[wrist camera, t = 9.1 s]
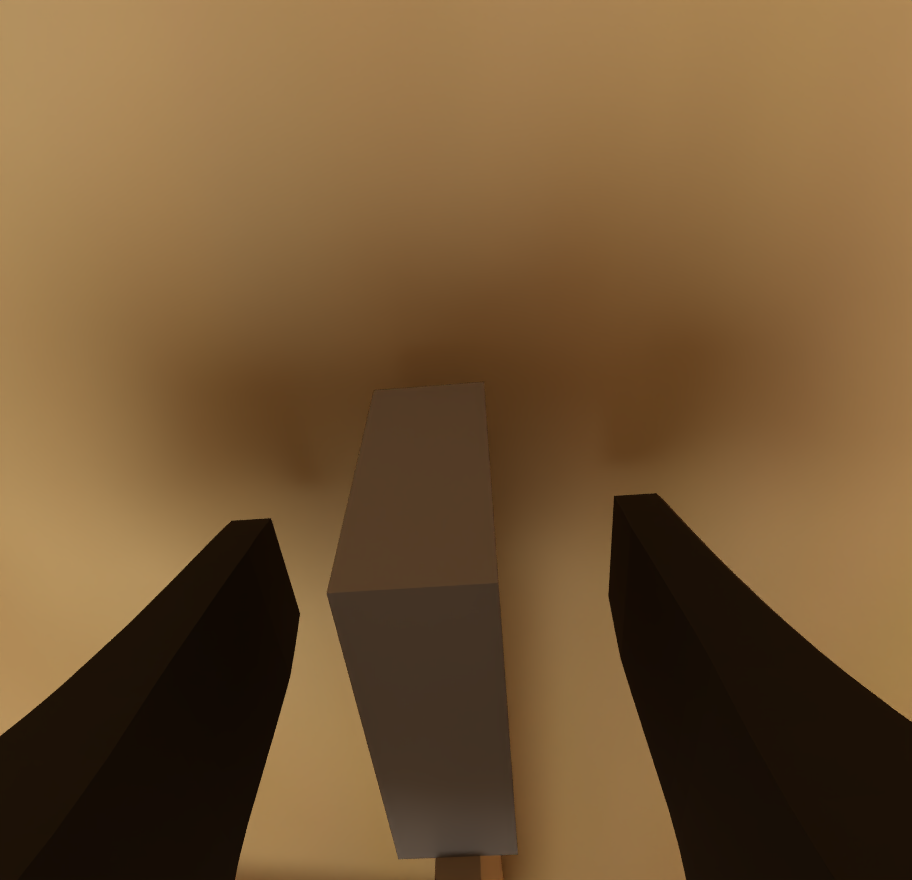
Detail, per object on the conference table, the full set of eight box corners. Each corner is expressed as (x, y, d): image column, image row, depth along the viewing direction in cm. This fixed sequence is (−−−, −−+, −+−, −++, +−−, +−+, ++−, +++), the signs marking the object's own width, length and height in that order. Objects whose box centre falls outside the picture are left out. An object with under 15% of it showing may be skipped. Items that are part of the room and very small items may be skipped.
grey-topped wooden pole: (521, 902, 20) (540, 1166, 16) (470, 904, 21) (474, 1167, 16) (481, 350, 10) (501, 624, 6) (381, 357, 10) (316, 636, 6)
